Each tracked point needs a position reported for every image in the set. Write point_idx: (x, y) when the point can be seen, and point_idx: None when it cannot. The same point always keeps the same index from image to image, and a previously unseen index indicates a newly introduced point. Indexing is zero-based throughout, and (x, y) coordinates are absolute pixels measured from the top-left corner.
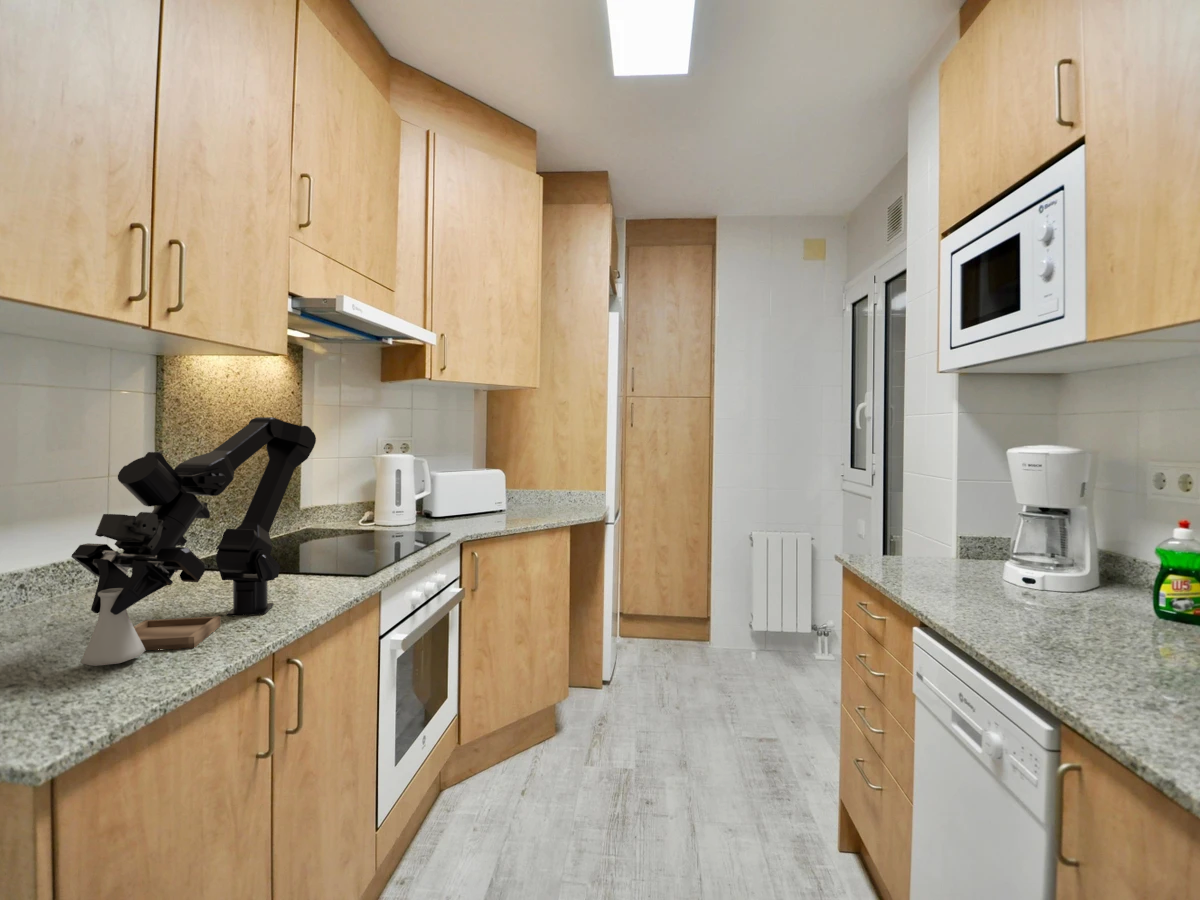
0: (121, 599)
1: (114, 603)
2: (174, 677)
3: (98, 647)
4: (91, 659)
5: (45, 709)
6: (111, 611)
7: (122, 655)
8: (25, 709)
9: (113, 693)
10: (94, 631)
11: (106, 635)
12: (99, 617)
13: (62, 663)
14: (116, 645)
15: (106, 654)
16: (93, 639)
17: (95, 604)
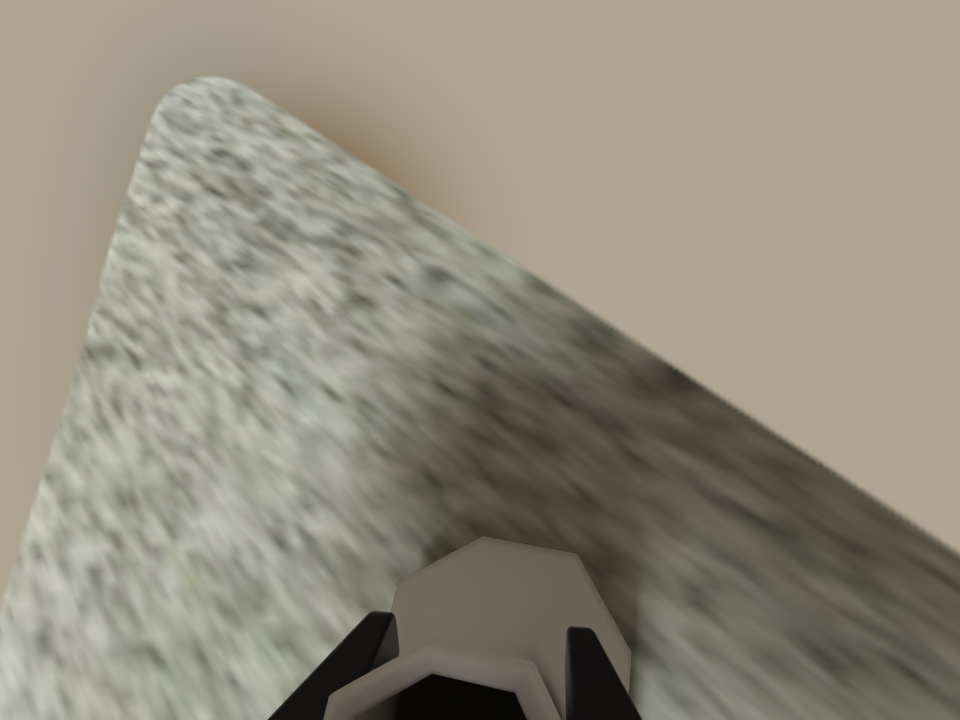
0: (293, 695)
1: (361, 657)
2: (136, 539)
3: (481, 561)
4: (511, 547)
5: (374, 253)
6: (382, 612)
7: (393, 607)
8: (430, 244)
9: (262, 376)
10: (541, 602)
11: (449, 592)
12: (524, 636)
13: (762, 638)
14: (405, 600)
15: (444, 566)
16: (530, 582)
17: (575, 662)
